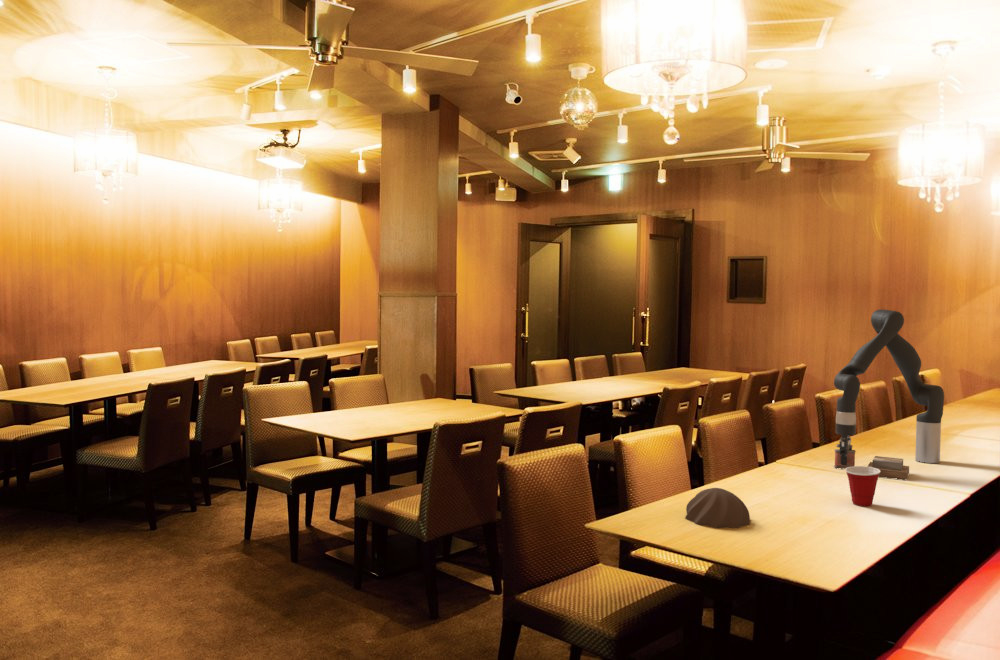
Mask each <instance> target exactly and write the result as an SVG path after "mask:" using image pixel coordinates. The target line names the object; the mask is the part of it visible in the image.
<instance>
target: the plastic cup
mask: <svg viewBox="0 0 1000 660" xmlns="http://www.w3.org/2000/svg"><path fill="white" fill-rule="evenodd" d="M844 471H845V472H846V475H847V479H848V486H849V490H850V496H851V502H852V504H853V505H855V506H859V507H872V506H873V505H872V504H873V501H874V496H875V492H876V488H877V485H878V484H877V483H878V480H879V477H878V476H879V473H880V472H881V471H880V470H879V469H877V468H873V467H867V466H863V465H861V466H859V465H855V466H853V467H848V468H845V469H844Z"/></svg>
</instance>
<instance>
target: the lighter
mask: <svg viewBox="0 0 1000 660" xmlns="http://www.w3.org/2000/svg"><path fill="white" fill-rule="evenodd" d="M836 448H837V449H834V465H833V468H834V467H835V468H834V469H837V468H848V467H853V466H856V465H855V463H856V462H855V461H856V460H855V459H856V457H855V456H856V450H855V449H853V445H852V444H851V445H849V448H850V449H849V451H848V452H847V454H848V456H847V465H841V455H840V443H836ZM842 452H845V450H842Z"/></svg>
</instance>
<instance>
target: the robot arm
mask: <svg viewBox="0 0 1000 660" xmlns="http://www.w3.org/2000/svg"><path fill="white" fill-rule="evenodd" d="M870 323H871V326H872V328H873V329H874V331H875V332H876V336H874V337H873V338H872V339H870V340H869V341H868V342H866V343H865V344H864V345H862V346H861V347H860V348H859V349H857V351H856V352H855V353H854V355H853V356H852V357H851V359H850V361H849V362H848V363H847V364H846V365H845V366H844V367H843V368H842V369H841V370H839V372H837V374H836V375H835V377H834V379H833V385H834V388H835V389H837V390H839V391H842V396H840V397H838V398H837V401H836V415H835V434H837V435H841V437H840V438H839V443H838V444H840V447H839V449H840V455H841V465H847V456H848V454H847V452H848V451H849V449H850V448H849V445H852V444H851V443H852V438H851V437H850V436H855V435H856V429H857V427H856V426H857V416H856V411H857V410H856V406H857V404H856V402H857V399H858V396H859V394H860V393H859V392H860V390H861V382H860V379H859V378H858V376H859V375H863V374H865V373H866V371H867V370H868V369H869V367H870V366H871V364H872V363H873V362H874V360H875V359H876V357H877V356H878V354H879V353H880V352H881V351H882V350H883V349H884V348H885V346H886V348H887V350H888V352H889V353H890V355H891V357H892V359H893V361H894V363H895V365H896V367H897V368H898V369H899V371H900V373H901V375H902V377H903V379H904V381H905V384H906V385H907V387H908V390H909V392H910V395H911V398H912V399H913V401H914V402H915V403H916V404H918V405H920V406H926V407H927V410H926V411H925V412H921V413H918V414H916V417H915V419H916V421H915V422H916V425H915V458H914V459H915V461H917V462H919V461H920V463H924V462H925V464H940V462H941V442H942V441H941V440H942V439H941V436H942V435H941V434H942V433H941V432H942V418H943V415H944V405H945V391H944V389H943V388H942V386H940V385H937V384H936V385H935V384H926V383H924V382H923V381H922V379H921V377H920V371H921V368H922V359H921V357H920V355H919V354H918V352H917V350H916V348H915V347H914V346H913V345H912V344H911V343H910V342H909V341H907V340H906V339H905V338H904V337H903V336H901V335H900V333H899V332H900V331H901V329H902V327H904V324H905V317H904V315H903V314H902V313H901V312H900V311H897V310H892V309H891V310H889V309H883V308H882V309H876V310H875V311H873V312H872V315H871V318H870ZM842 450H845V452H842Z"/></svg>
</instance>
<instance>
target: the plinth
mask: <svg viewBox="0 0 1000 660" xmlns="http://www.w3.org/2000/svg"><path fill="white" fill-rule="evenodd" d="M866 467H873V468H877V469H879V470H880V471H881V472H880V473H879V477H878V478H882V477H887V478H886V479H891V478H897V479H896V480H899V479H907V480H908V478H909V475H910V465H904V458H898V457H888V456H878V455H875V456H874V457H873V459H872V461H870V462H869V463H868V465H867V466H866ZM908 474H909V475H908ZM907 477H908V478H907Z"/></svg>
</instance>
